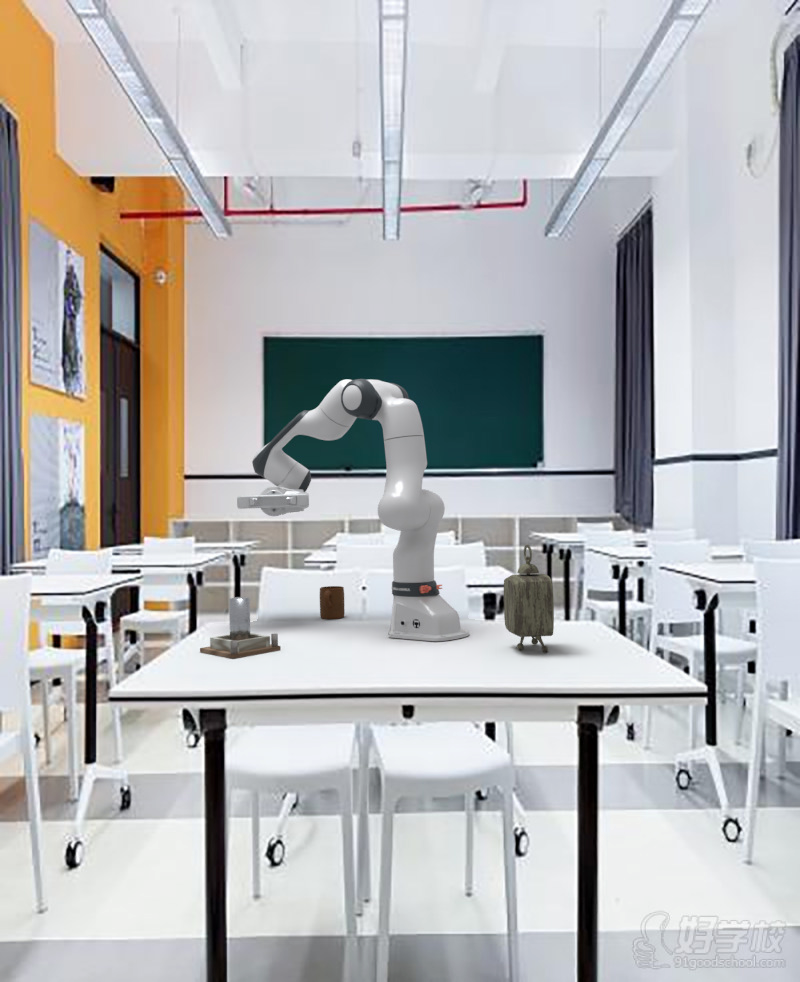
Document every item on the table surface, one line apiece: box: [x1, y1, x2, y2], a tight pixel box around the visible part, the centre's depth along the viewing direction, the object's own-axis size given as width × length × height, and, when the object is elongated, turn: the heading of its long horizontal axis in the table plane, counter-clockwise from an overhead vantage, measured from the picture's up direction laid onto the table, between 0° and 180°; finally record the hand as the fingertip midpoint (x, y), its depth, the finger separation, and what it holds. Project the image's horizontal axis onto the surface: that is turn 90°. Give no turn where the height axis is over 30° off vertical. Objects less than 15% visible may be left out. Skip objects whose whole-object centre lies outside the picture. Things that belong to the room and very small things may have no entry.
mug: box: [319, 585, 345, 620], centre depth 263 cm, size 12×8×9 cm, turn 172°
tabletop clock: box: [503, 544, 555, 654], centre depth 204 cm, size 14×9×25 cm, turn 4°
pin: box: [228, 596, 251, 641], centre depth 211 cm, size 5×5×12 cm
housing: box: [199, 632, 281, 660], centre depth 211 cm, size 14×14×4 cm
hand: (272, 501), depth 236 cm, fingers open, 8 cm apart
